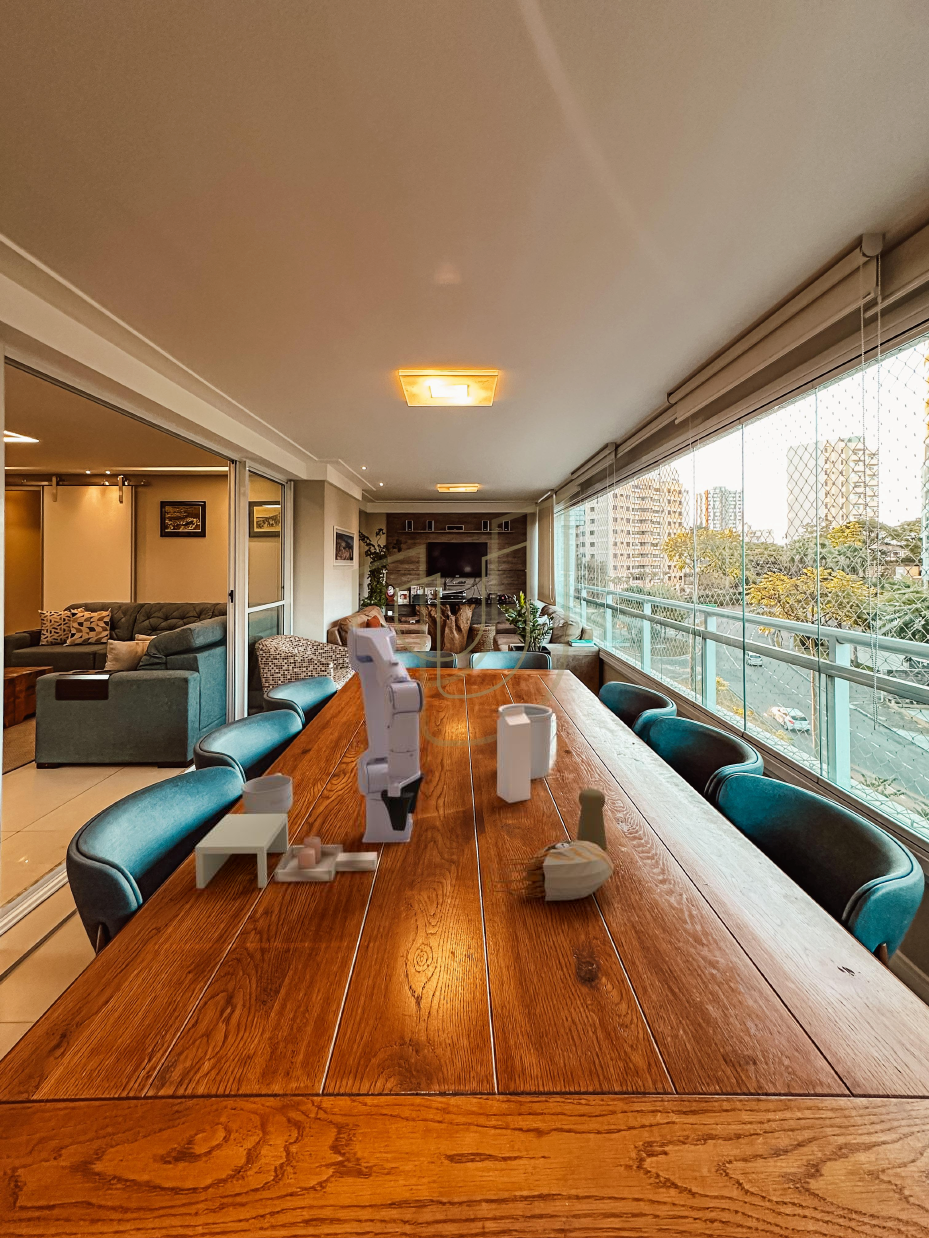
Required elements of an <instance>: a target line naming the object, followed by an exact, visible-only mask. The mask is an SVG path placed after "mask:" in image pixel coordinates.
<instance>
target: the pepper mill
mask: <svg viewBox="0 0 929 1238" xmlns="http://www.w3.org/2000/svg"><path fill="white" fill-rule="evenodd" d="M578 803H579V805H580V807H581V808H580V815H579V821H578V827H577V828H578V829H577V835H576V840H578V841H588V842H591V843H594V844H596V845H598V846H599V847H600V848H601V849H602V850H603V851H604V850H606V849H607V847H608V845H607V844H608V843H607V836H606V835H607V834H606V828H605V819H604V812H603V808H604V807H605V804H606V797H605V794H604V792H603V791H601V790H599V789H595V788H585V789H583V790H581V791H580V792H579V795H578Z"/></svg>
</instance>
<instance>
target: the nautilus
mask: <svg viewBox="0 0 929 1238" xmlns="http://www.w3.org/2000/svg"><path fill="white" fill-rule="evenodd" d="M515 860H516V861H517V860H518V861H517V862H514V863H505V864H504V866H515V865H516V866H518V865H520V866H521V865H525V866H524V868H520V869H519V870H518V869H517V870H510V871H509V870H505V871H499V872H497V871H496V872H494V874H504V873H520V874H523V873H525V875H524V876H523V877H521V878H520V879H509V880H493V882H494V883H496V884H497V883H498V884H508V883H511V884H513V883H521V884H523V885H525V886H524V887H519V888H506V890H492V892H495V893H507V892H509V893H511V894H510V895H509V896H506V897H505V898H506V899H507V898H510V897H512V896H516V895H517V896H523V897H527V898H524V899H523V900H521V901H520V902H524V901H525V900H529V899H532V898H539V897H544V896H545V897H544V901H545V902H548V901H571V900H577V899H582V898H585V897H588V896H589V895H591V894H593V893H595V892H596V890H598V889H599V888H600V887H601V886H602V885H603V884H605V883H606V882H607V881H608V880H609V879H610V877H611V875H612V874H613V873H614V869H615V868H614V867H615V864H614V863H613V861H612V859H611V857H609V855H608V854H607V853H606V852H605V851H604V850H602V849H601V848H600V847H599V846H598V845H596V844H594V843H591V842H588V841H578V840H577V839H576V840H570V839H568V840H564V841H558V842H556V843H552V844H548V845H547V846H545V847H543V848H542V849H540V850H539V851H538V852H536V854H534V855H533V856H530V857H527V858H526V857H524V858H520V857H519V858H509V859H507V861H515ZM525 860H527V861H529V862H523V861H525ZM519 861H522V862H519ZM525 882H530V883H525ZM533 889H535V890H533ZM531 890H532V891H531ZM516 891H517V892H518V891H522V892H519V893H517V892H516ZM524 893H530V894H524ZM531 893H532V894H531Z"/></svg>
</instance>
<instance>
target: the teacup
mask: <svg viewBox="0 0 929 1238" xmlns="http://www.w3.org/2000/svg"><path fill="white" fill-rule="evenodd" d="M240 790H241V791H242V802H243V808H244V812H245V814H287V813H288V812H289V810H290V809H291V808H292V807H293V802H294V801H293V800H294V797H293V796H294V795H293V778H292V777H291V776H288V775H284V774H283V775H282V773H280V772H276V773H274V774H273V775H265V776H261V777H256V778H253V779H251V780H248V781H246V782H245V783H244V784H243V783H242V785H241V788H240Z"/></svg>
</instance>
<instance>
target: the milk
mask: <svg viewBox="0 0 929 1238" xmlns="http://www.w3.org/2000/svg"><path fill="white" fill-rule="evenodd" d="M496 724H497V725H496V726H497V727H496V728H497V729H496V734H497V735H496V737H497V738H496V739H497V740H496V743H497V744H496V747H497V748H496V750H497V751H496V755H497V756H496V760H497V761H496V763H497V766H496V771H497V775H496V777H497V779H496V780H497V782H496V783H497V784H496V787H497V788H496V793H497V795H496V796H498V797H500V798H501V799H503V800H505V801H506V802H507V803H509V804H511V803H517V802H522V801H526V800H531V779H530V773H531V722H530V721H529V719H528V718H527V716H526V715H525V713H524V707H518V708H510V709H504V710H503V716H502V717H500V718H499V717H498V718H497V720H496Z"/></svg>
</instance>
